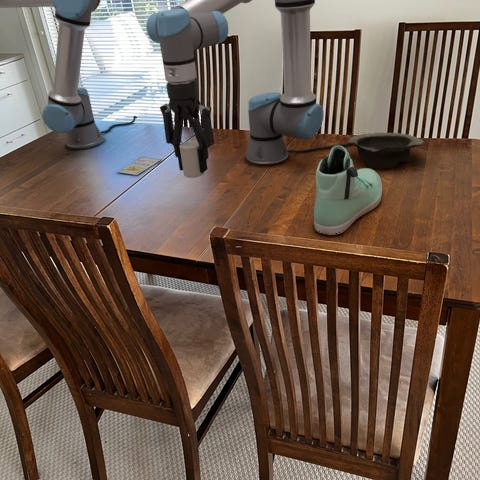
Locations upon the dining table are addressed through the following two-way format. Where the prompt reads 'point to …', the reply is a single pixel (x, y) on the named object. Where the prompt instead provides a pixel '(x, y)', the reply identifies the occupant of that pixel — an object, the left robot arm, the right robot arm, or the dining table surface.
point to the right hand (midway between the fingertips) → (193, 169)
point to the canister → (190, 159)
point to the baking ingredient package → (138, 166)
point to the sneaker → (343, 192)
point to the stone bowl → (384, 148)
